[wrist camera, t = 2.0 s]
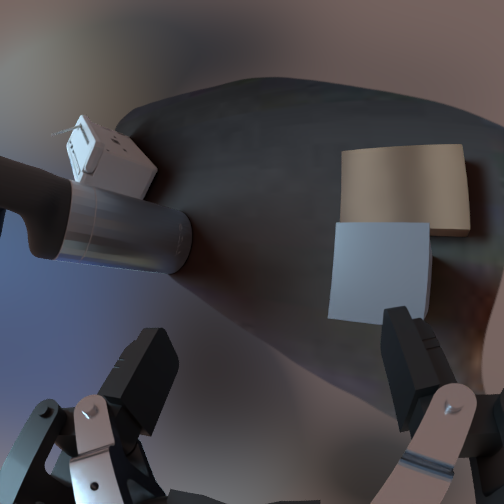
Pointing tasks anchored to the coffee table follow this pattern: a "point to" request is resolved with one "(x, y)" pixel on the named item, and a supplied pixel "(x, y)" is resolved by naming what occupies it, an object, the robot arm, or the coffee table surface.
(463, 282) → the coffee table surface
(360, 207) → the stand
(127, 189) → the stereo radio cassette player
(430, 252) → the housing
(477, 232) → the coffee table surface
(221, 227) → the coffee table surface
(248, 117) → the coffee table surface
